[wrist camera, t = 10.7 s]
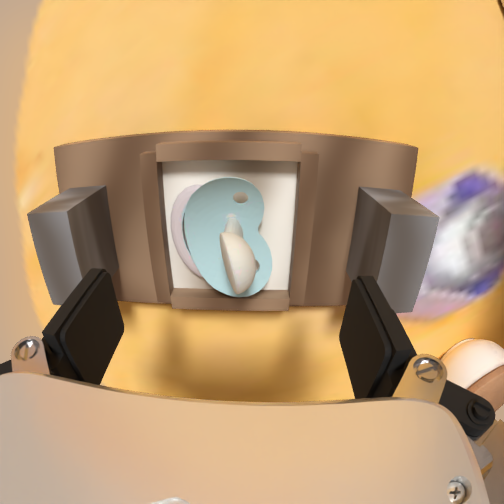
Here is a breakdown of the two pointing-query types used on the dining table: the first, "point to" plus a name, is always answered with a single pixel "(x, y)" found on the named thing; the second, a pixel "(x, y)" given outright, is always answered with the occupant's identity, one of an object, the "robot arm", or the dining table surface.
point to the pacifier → (222, 235)
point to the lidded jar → (477, 368)
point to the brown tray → (262, 177)
